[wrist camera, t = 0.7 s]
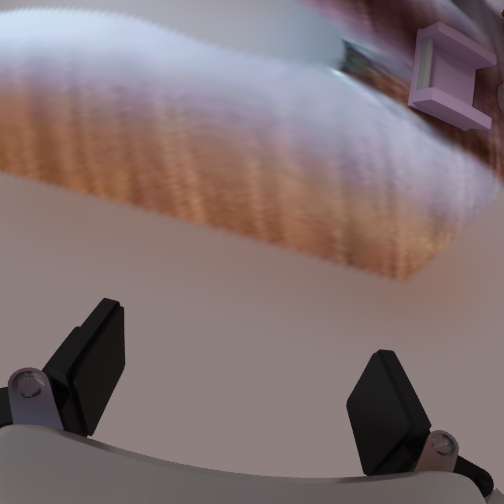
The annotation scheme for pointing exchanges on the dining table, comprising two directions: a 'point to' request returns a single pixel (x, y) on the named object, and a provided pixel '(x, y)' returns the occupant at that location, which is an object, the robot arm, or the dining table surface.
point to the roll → (501, 97)
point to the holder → (448, 76)
